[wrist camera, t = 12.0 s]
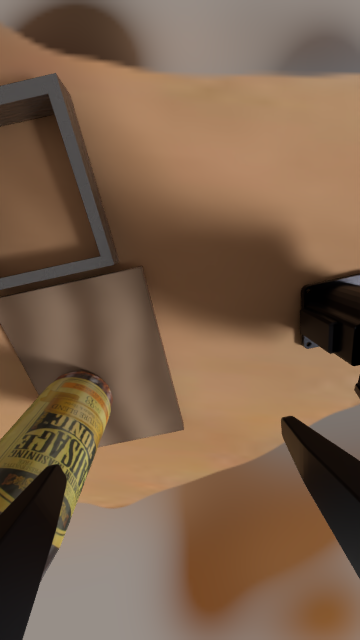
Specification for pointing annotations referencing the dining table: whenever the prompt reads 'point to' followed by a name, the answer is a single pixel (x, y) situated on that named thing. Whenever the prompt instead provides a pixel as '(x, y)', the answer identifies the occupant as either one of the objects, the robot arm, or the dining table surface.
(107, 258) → the grey square frame
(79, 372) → the sauce bottle
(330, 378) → the dining table surface
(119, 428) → the brown flat slab
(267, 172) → the dining table surface
